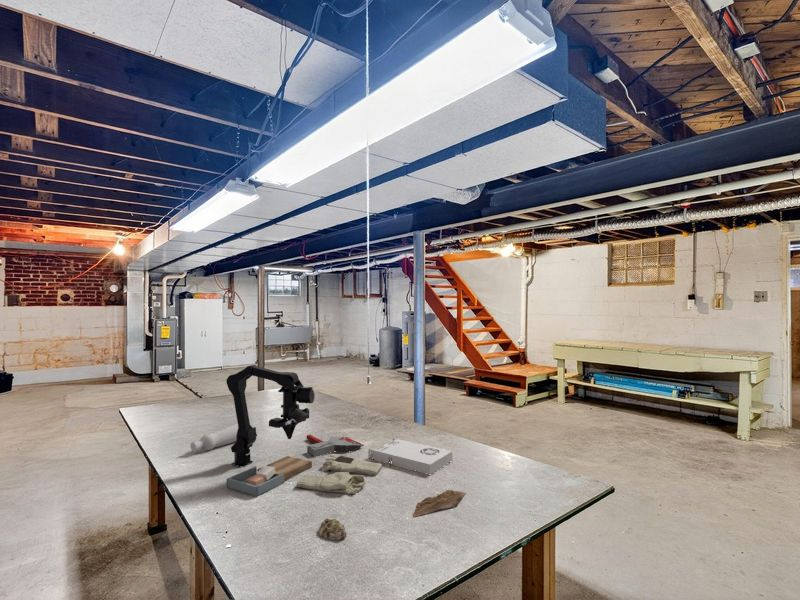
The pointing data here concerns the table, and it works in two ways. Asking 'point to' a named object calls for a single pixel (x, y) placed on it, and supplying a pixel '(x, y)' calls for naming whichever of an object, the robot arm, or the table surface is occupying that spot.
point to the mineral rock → (332, 530)
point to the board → (289, 467)
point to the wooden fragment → (438, 502)
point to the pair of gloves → (341, 475)
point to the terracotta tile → (256, 480)
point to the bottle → (216, 439)
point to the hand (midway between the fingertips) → (289, 438)
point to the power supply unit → (412, 456)
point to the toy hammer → (331, 445)
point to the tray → (241, 486)
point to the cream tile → (266, 472)
